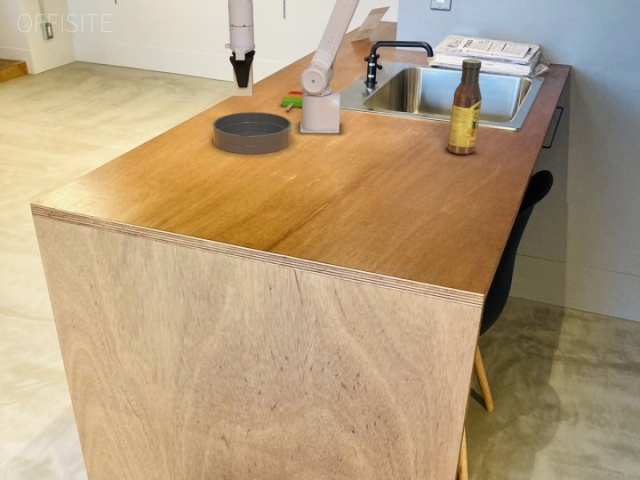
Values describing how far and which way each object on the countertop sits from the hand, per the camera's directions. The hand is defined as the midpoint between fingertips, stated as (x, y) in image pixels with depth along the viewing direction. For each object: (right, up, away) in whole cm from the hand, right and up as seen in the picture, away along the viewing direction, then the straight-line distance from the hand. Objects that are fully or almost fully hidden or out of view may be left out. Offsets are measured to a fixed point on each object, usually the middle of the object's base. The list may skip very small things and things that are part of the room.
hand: (243, 84), depth 167 cm
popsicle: (+11, +1, +19) cm, 22 cm away
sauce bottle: (+51, -19, -9) cm, 55 cm away
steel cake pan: (+3, -16, -7) cm, 18 cm away
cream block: (0, -2, +1) cm, 2 cm away
